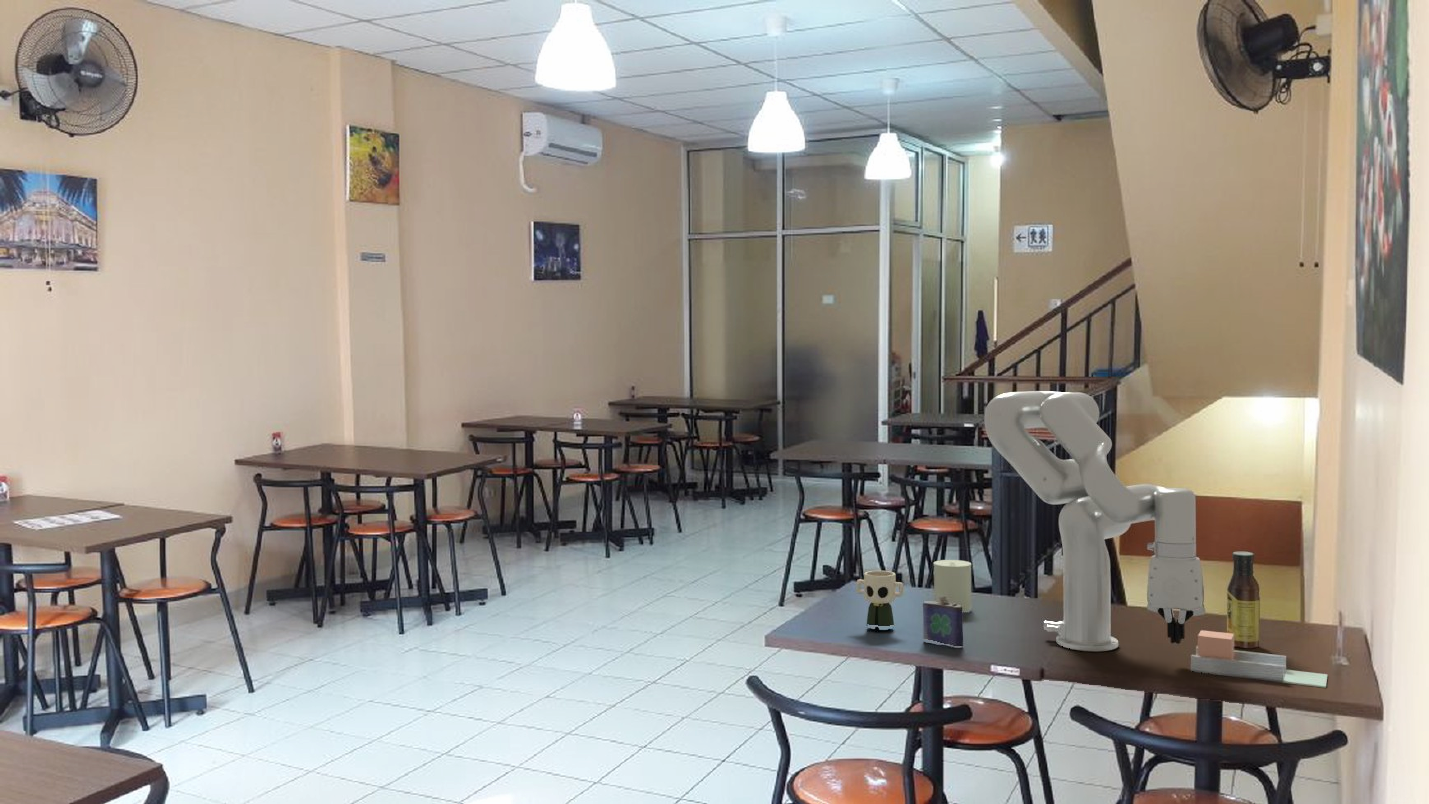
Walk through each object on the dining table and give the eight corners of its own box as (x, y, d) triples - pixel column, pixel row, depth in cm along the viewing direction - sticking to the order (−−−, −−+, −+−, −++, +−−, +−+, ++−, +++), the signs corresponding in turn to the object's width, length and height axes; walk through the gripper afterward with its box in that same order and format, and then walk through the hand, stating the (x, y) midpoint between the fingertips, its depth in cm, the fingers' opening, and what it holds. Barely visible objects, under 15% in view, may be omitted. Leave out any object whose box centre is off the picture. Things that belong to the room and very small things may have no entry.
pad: (1283, 682, 205) (1283, 681, 205) (1286, 671, 213) (1286, 669, 213) (1325, 687, 202) (1325, 686, 202) (1327, 675, 209) (1327, 674, 209)
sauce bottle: (1231, 640, 236) (1231, 548, 235) (1263, 644, 232) (1263, 551, 231) (1223, 646, 231) (1223, 553, 230) (1255, 651, 227) (1255, 556, 226)
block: (1197, 666, 214) (1197, 635, 214) (1201, 660, 219) (1201, 630, 219) (1231, 670, 211) (1231, 639, 211) (1234, 663, 216) (1234, 633, 215)
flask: (921, 642, 238) (920, 593, 238) (927, 640, 240) (927, 591, 240) (959, 649, 232) (959, 599, 232) (966, 646, 234) (966, 597, 234)
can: (934, 613, 265) (933, 564, 265) (933, 605, 274) (932, 557, 274) (973, 614, 264) (972, 564, 263) (970, 605, 273) (970, 558, 273)
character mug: (852, 631, 249) (852, 574, 249) (862, 624, 256) (861, 568, 255) (899, 635, 245) (898, 577, 244) (907, 628, 251) (907, 572, 251)
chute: (1190, 671, 213) (1190, 656, 213) (1196, 660, 221) (1196, 645, 221) (1283, 682, 205) (1283, 666, 205) (1286, 671, 213) (1286, 655, 213)
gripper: (1132, 550, 219) (1133, 642, 219) (1214, 556, 211) (1214, 650, 212) (1139, 545, 225) (1139, 633, 226) (1218, 550, 217) (1219, 641, 218)
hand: (1176, 641), depth 219 cm, fingers closed
